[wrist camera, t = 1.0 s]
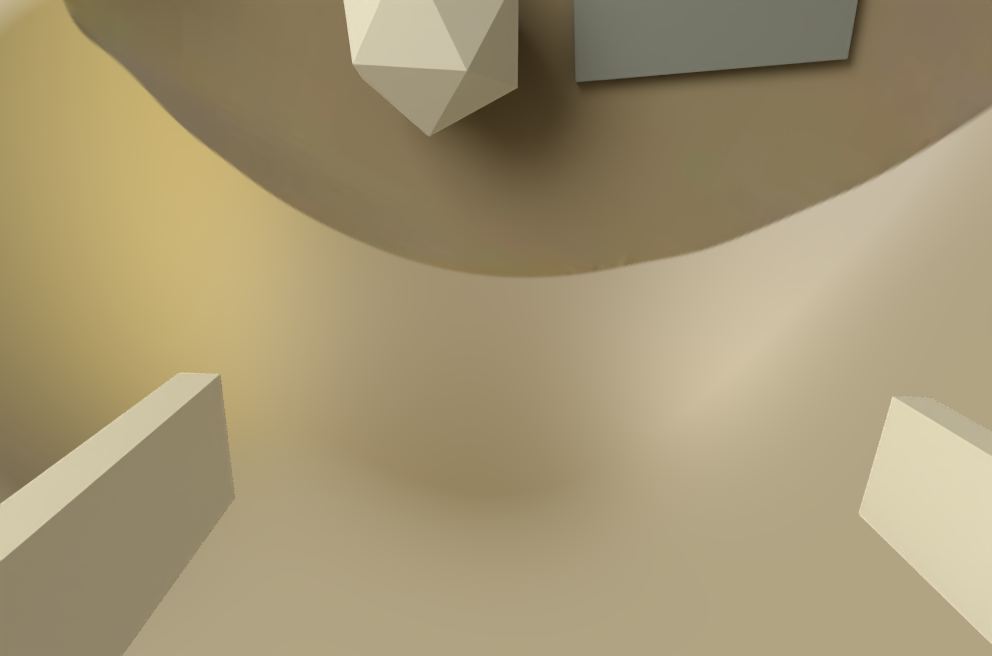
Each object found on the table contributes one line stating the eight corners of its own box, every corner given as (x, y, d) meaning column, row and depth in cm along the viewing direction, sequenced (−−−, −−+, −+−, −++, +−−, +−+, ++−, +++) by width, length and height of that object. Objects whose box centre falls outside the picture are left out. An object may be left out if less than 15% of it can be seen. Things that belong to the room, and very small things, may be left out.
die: (558, 78, 30) (558, -77, 21) (449, 190, 30) (399, 81, 21) (454, -4, 32) (410, -183, 23) (349, 100, 32) (260, -38, 22)
